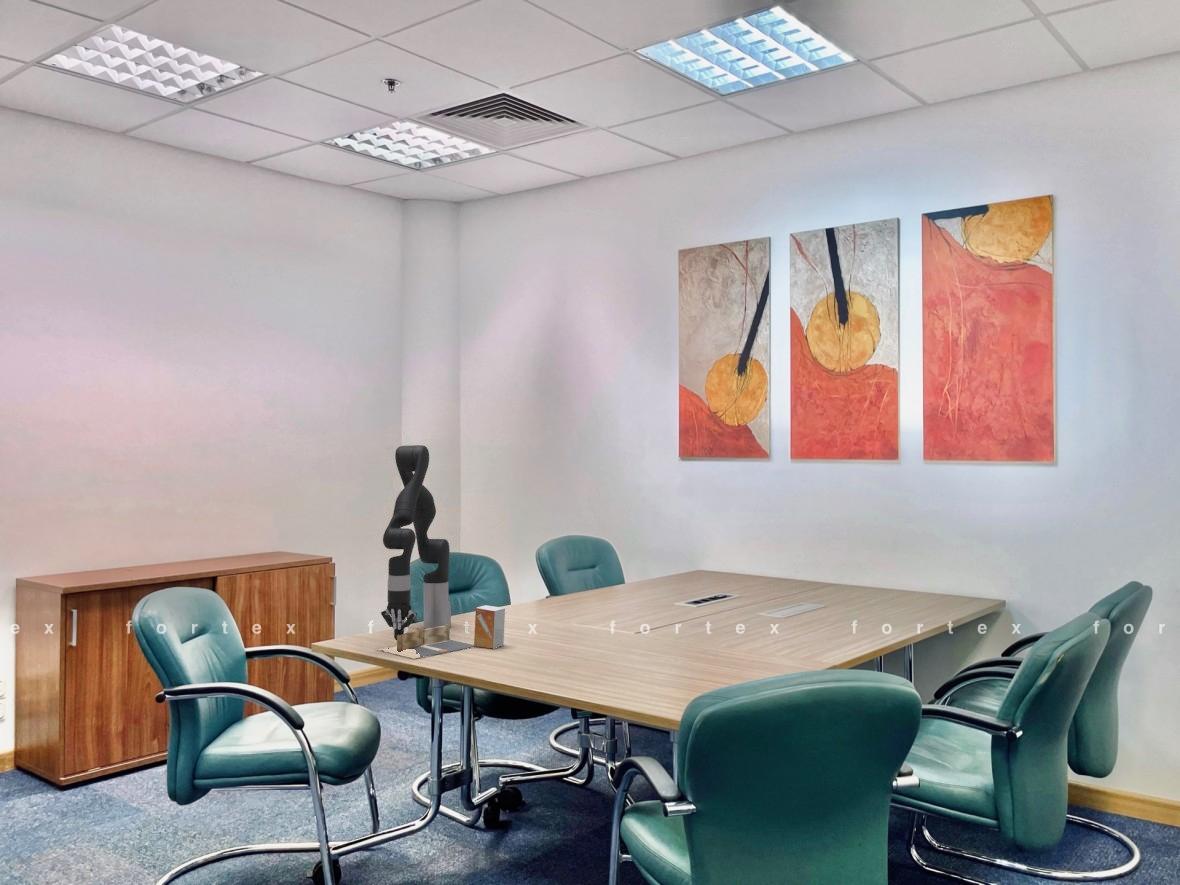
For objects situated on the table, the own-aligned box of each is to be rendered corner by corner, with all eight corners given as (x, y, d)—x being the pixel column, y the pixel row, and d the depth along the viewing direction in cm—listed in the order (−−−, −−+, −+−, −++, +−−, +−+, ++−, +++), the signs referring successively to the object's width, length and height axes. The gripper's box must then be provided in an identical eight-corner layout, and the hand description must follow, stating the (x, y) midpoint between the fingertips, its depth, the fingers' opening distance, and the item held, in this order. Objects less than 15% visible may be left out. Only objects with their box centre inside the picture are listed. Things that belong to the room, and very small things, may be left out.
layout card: (439, 638, 344) (439, 636, 344) (477, 646, 329) (477, 645, 329) (376, 650, 325) (376, 648, 325) (413, 659, 311) (413, 657, 311)
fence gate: (415, 644, 329) (415, 629, 329) (420, 645, 329) (419, 630, 329) (395, 651, 320) (395, 635, 320) (400, 651, 319) (400, 635, 319)
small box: (473, 645, 329) (475, 607, 329) (484, 642, 335) (486, 604, 334) (493, 649, 325) (494, 610, 325) (504, 645, 331) (505, 607, 330)
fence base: (447, 639, 340) (447, 623, 340) (450, 640, 338) (450, 623, 338) (415, 645, 330) (415, 628, 330) (419, 646, 329) (419, 629, 329)
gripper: (422, 587, 325) (422, 639, 325) (387, 585, 329) (387, 636, 330) (411, 591, 318) (410, 644, 318) (375, 588, 322) (375, 640, 323)
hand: (398, 640), depth 324 cm, fingers closed
